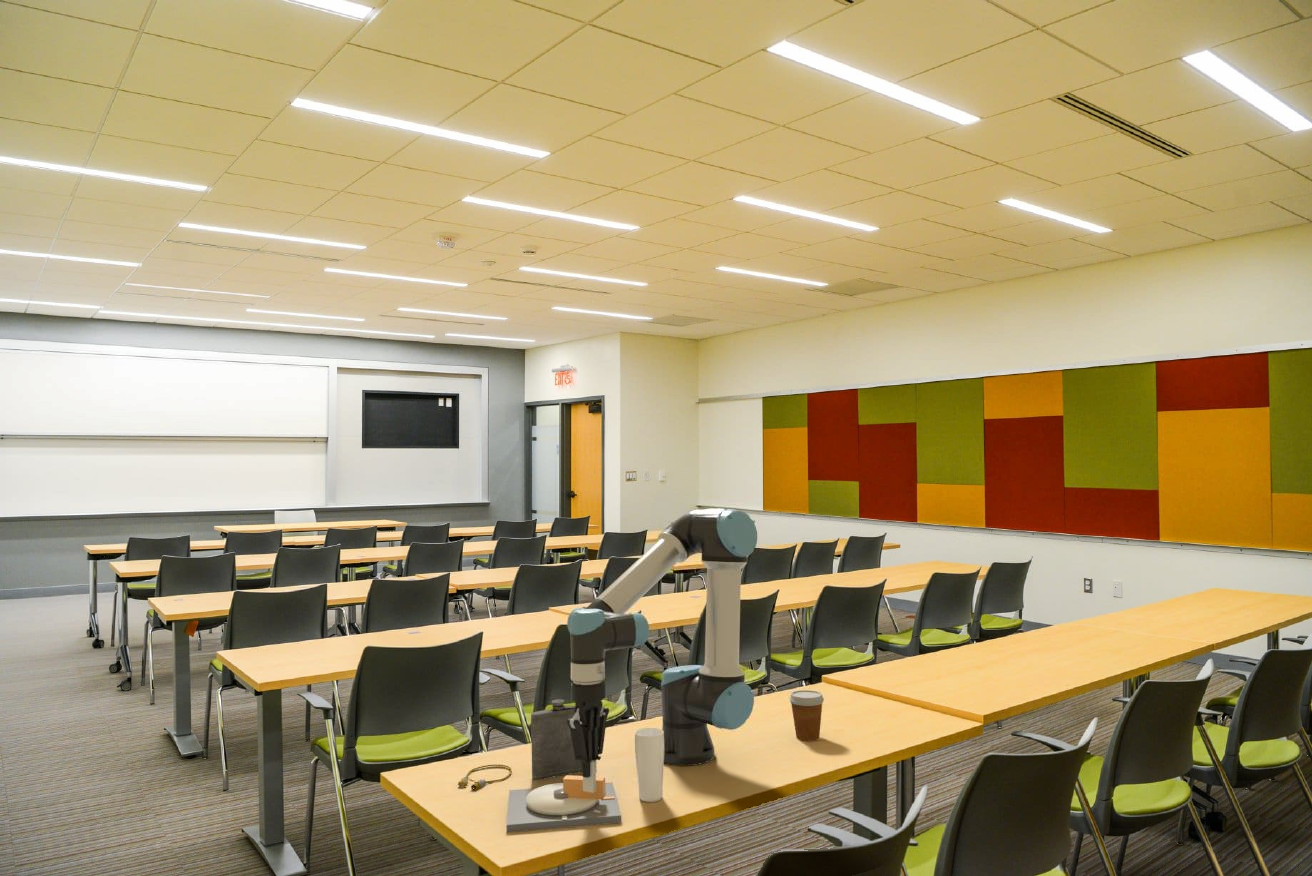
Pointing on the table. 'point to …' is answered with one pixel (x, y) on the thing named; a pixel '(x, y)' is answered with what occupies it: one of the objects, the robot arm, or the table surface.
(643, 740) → the drinking glass
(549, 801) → the dial
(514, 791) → the dial housing
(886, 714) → the table surface
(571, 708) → the flask
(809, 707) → the disposable coffee cup
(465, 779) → the extension cord
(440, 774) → the table surface
